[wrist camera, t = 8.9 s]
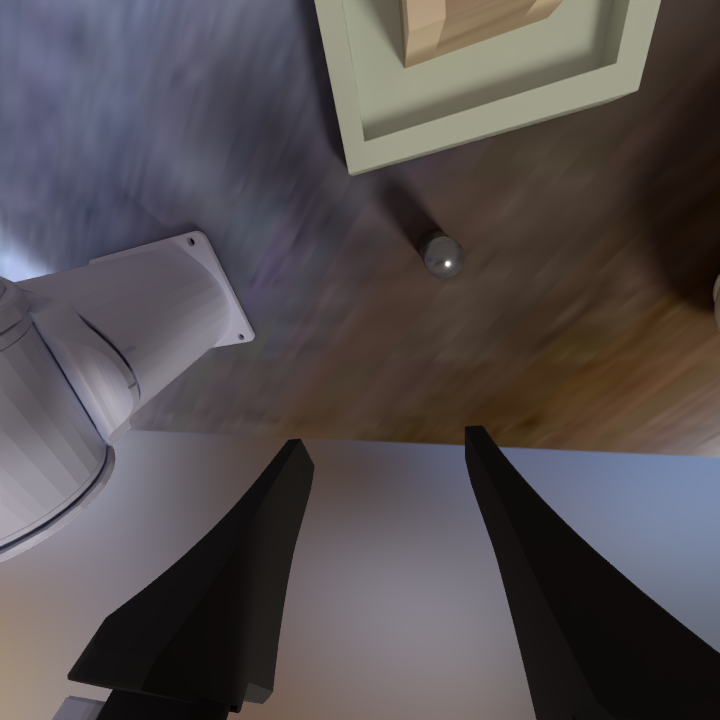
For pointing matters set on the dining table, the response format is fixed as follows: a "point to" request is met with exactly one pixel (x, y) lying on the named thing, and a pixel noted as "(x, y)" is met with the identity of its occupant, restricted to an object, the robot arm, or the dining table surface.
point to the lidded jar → (717, 301)
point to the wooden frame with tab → (462, 23)
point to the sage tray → (474, 76)
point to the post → (441, 254)
